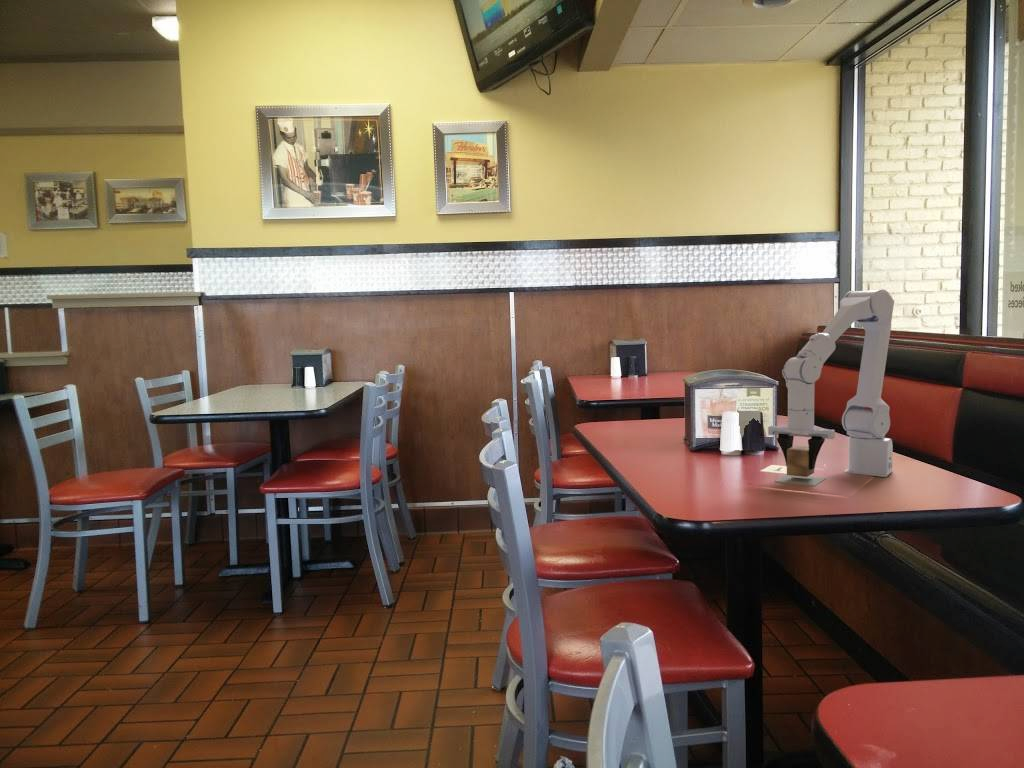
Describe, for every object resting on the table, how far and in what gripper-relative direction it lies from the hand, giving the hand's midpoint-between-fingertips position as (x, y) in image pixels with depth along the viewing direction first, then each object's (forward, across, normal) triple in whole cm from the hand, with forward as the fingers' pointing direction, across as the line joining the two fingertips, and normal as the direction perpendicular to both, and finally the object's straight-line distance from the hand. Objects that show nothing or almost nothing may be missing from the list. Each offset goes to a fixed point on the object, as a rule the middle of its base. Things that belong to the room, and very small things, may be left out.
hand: (800, 467), depth 179 cm
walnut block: (+2, 0, 0) cm, 2 cm away
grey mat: (+3, 0, 0) cm, 3 cm away
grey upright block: (+4, -24, +32) cm, 40 cm away
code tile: (+3, -7, +10) cm, 13 cm away
